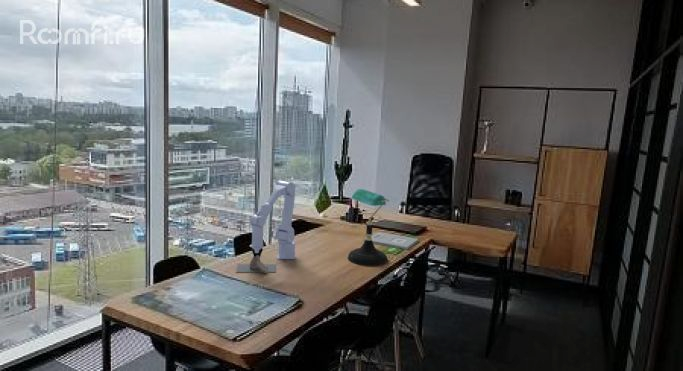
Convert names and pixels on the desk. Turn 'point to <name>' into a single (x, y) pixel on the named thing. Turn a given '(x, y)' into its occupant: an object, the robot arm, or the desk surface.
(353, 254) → the banker's lamp
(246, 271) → the charcoal mat
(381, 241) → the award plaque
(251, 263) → the rough beige rock
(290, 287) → the desk surface
